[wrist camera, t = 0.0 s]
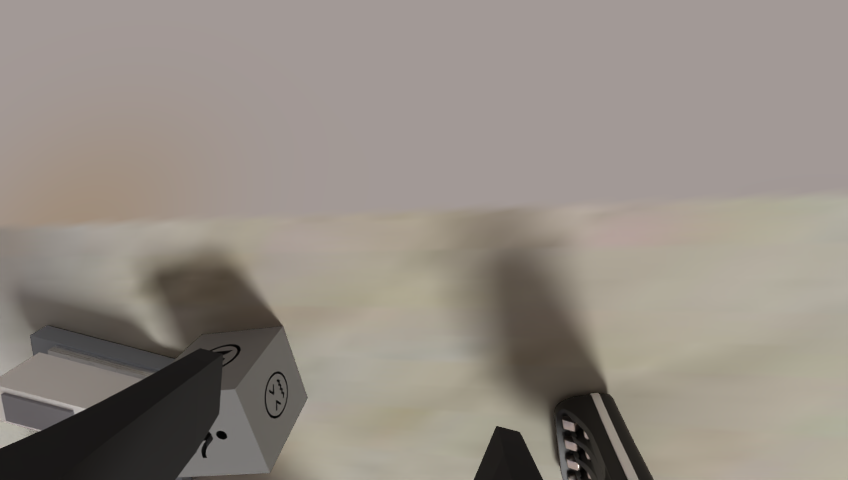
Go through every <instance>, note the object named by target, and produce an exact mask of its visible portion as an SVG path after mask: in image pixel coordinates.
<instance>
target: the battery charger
mask: <svg viewBox="0 0 848 480" xmlns="http://www.w3.org/2000/svg"><path fill="white" fill-rule="evenodd" d="M555 428H556V437H557V445H558V454H559V462H560V469H561V474H562V478H563V480H654V479H653V478H652V476H651V474H650V472H649V470H648V468H647V466H646V464H645V462H644V460H643V458H642V456H641V454H640V452H639V450H638V449H637V447H636V445H635V443H634V441H633V439H632V437H631V435H630V433H629V430H628V428H627V426H626V424H625V422H624V420H623V418H622V416H621V414H620V412H619V410H618V408H617V406H616V404H615V402H614V399H613V398H612V397H611V395H609V394H599V393H590V395H587V396H577V397H574V398H569V399H567V400H564V401H562V402H561V403H559V404H558V405H557V407H556V408H555Z"/></svg>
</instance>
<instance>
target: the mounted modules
mask: <svg viewBox="0 0 848 480" xmlns="http://www.w3.org/2000/svg"><path fill="white" fill-rule="evenodd" d="M141 380H142V379H139V378H135V377H132V376H128V375H124V374H120V373H116V372H113V371H109V370H105V369H101V368H97V367H94V366H90V365H86V364H82V363H78V362H74V361H71V360H67V359H63V358H59V357H55V356H52V355H48V354H44V353H40V352H39V353H38V354H36V355H34V356H33V357H31V358H29V359H28V360H26V361H25V362H23V363H21V364H20V365H18V366H17V367H15V368H13V369H12V370H10V371H8V372H7V373H5V374H4V375H2V376H0V421H2V422H6V423H10V424H14V425H17V426H21V427H25V428H29V429H33V430H36V431H41V430H44V429H46V428H48V427H50V426H52V425H54V424H56V423H58V422H60V421H62V420H64V419H66V418H68V417H70V416H73V415H75V414H77V413H79V412H81V411H83V410H85V409H87V408H89V407H91V406H93V405H95V404H97V403H99V402H101V401H103V400H105V399H107V398H109V397H110V396H112V395H114V394H116V393H118V392H120V391H122V390H124V389H126V388H127V387H129V386H131V385H133V384H135V383H137V382H139V381H141Z"/></svg>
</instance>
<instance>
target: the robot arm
mask: <svg viewBox="0 0 848 480" xmlns="http://www.w3.org/2000/svg"><path fill="white" fill-rule="evenodd" d="M222 366H223V354H221V353H217V352H213V351H209V350H206V349H202V348H199V349H198V350H196V351H194V352H192V353H190V354H188V355H186V356H184V357H183V358H181V359H179V360H177V361H175V362H173V363H172V364H170V365H168V366H166V367H164V368H163V369H161V370H159V371H157V372H155V373H153V374H152V375H150V376H148V377H146V378H144V379H142V380H141V381H139V382H137V383H135V384H133V385H131V386H129V387H127V388H126V389H124V390H122V391H120V392H118V393H116V394H114V395H112V396H110V397H109V398H107V399H105V400H103V401H101V402H99V403H97V404H95V405H93V406H91V407H89V408H87V409H85V410H83V411H81V412H79V413H77V414H75V415H73V416H70V417H68V418H66V419H64V420H62V421H60V422H58V423H56V424H54V425H52V426H50V427H48V428H46V429H44V430H41V431H39V432H37V433H35V434H33V435H30V436H28V437H26V438H24V439H21V440H19V441H17V442H15V443H12V444H10V445H8V446H5V447H3V448H1V449H0V480H175V479H176V478H177V477H178V475H179V474H180V473H181V472H182V470H183V469H184V468H185V466H186V465H187V464H188V462H189V461H190V460H191V458H192V457H193V456H194V454H195V453H196V451H197V450H198V448H199V446H200V445H201V443H202V442H203V440H204V438H205V437H206V435H207V434H208V432H209V430H210V429H211V427H212V425H213V423H214V422H215V420H216V418H217V417H218V415H219V410H220V395H221V380H222ZM474 480H543V479H542V477H541V475H540V473H539V471H538V469H537V466H536V464H535V462H534V460H533V458H532V456H531V454H530V452H529V450H528V448H527V446H526V444H525V441H524V439H523V437H522V435H521V434H520V432H517V431H514V430H510V429H506V428H502V427H498V426H496V428H495V431H494V433H493V436H492V438H491V440H490V443H489V445H488V447H487V450H486V452H485V454H484V457H483V459H482V462H481V464H480V466H479V469H478V471H477V473H476V476H475V478H474Z"/></svg>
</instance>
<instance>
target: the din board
mask: <svg viewBox="0 0 848 480" xmlns="http://www.w3.org/2000/svg"><path fill="white" fill-rule="evenodd" d="M30 338H31V344H32V351H33V356H34V355H36V354H38V353H39V352H40V353H44V354H48V355H52V356H55V357H59V358H63V359H67V360H71V361H74V362H78V363H82V364H86V365H90V366H94V367H97V368H101V369H105V370H109V371H113V372H116V373H120V374H124V375H128V376H132V377H135V378H139V379H144V378H146V377H148V376H150V375H152V374H153V373H155V372H157V371H159V370H161V369H163V368H164V367H166V366H168V365H170V364H171V363H172V362H173V361H174V360H175V359H173V358H170V357H166V356H162V355H158V354H154V353H151V352H147V351H143V350H139V349H135V348H131V347H128V346H124V345H120V344H116V343H112V342H109V341H105V340H101V339H97V338H93V337H90V336H86V335H82V334H78V333H74V332H71V331H67V330H63V329H59V328H55V327H52V326H48V325H47V326H46V327H44V328H42V329H40V330H39V331H37V332H35V333H33V334H31V335H30ZM175 480H192V477H177V478H176V479H175Z"/></svg>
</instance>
